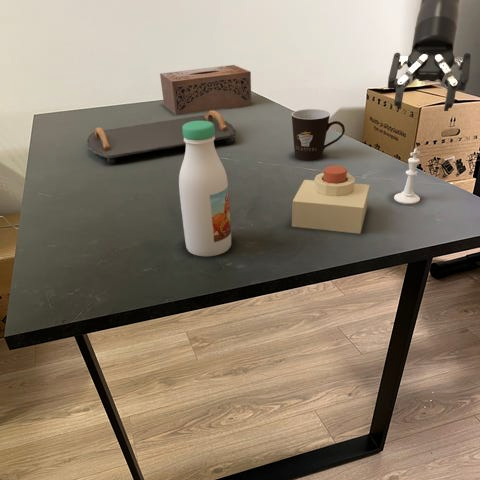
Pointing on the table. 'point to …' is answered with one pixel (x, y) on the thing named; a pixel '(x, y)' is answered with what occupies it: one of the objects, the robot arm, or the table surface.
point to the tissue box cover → (206, 89)
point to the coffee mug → (311, 133)
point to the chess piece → (409, 182)
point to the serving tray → (151, 136)
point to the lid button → (335, 174)
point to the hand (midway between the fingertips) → (422, 107)
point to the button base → (330, 205)
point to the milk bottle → (204, 193)
